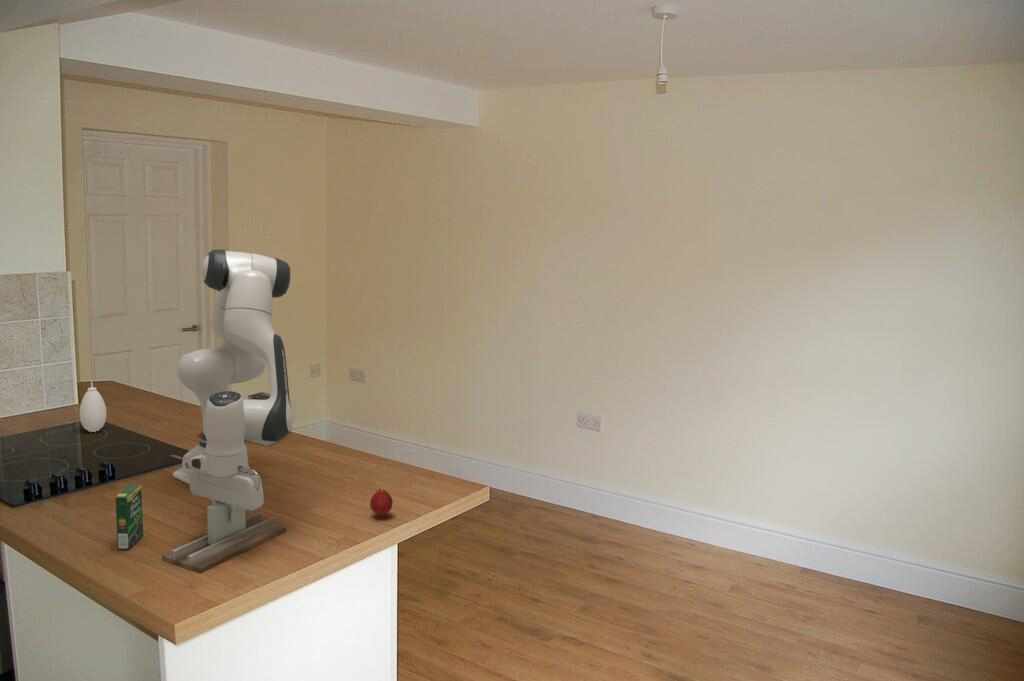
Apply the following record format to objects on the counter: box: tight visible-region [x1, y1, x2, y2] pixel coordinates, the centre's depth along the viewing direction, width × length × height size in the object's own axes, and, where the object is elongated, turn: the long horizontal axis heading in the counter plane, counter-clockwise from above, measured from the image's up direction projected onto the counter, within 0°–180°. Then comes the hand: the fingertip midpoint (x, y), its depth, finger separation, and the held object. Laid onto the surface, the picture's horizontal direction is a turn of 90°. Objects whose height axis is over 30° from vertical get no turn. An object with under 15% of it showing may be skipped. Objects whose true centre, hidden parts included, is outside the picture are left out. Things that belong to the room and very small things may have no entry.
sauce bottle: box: [79, 379, 107, 433], centre depth 257 cm, size 8×8×18 cm
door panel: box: [206, 502, 246, 545], centre depth 177 cm, size 2×9×9 cm, turn 154°
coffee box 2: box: [115, 483, 144, 551], centre depth 175 cm, size 8×3×13 cm, turn 3°
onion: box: [369, 487, 393, 518], centre depth 197 cm, size 6×6×8 cm
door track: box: [161, 511, 287, 574], centre depth 177 cm, size 12×26×3 cm, turn 154°
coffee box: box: [247, 391, 281, 447], centre depth 255 cm, size 9×6×16 cm
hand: (226, 519), depth 177 cm, fingers closed on door panel, 2 cm apart
